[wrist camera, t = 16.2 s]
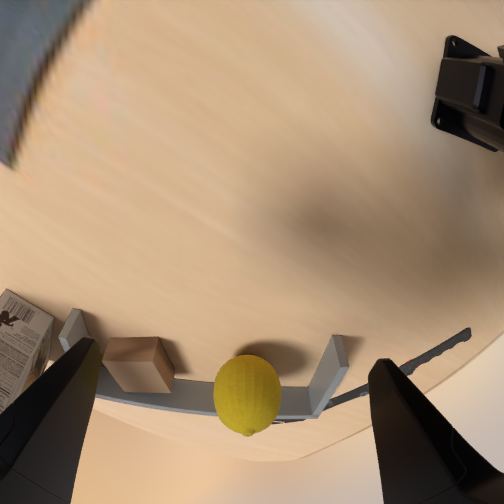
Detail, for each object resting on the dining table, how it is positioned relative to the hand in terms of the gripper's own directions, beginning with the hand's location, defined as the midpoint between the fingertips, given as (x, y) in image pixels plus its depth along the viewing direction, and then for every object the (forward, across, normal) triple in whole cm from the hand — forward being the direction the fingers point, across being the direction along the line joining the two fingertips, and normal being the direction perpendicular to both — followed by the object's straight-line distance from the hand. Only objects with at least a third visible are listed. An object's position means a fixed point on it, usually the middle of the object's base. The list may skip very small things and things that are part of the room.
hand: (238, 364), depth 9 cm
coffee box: (+12, +21, +16) cm, 29 cm away
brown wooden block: (+12, +8, +16) cm, 22 cm away
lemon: (+12, -2, +15) cm, 19 cm away
